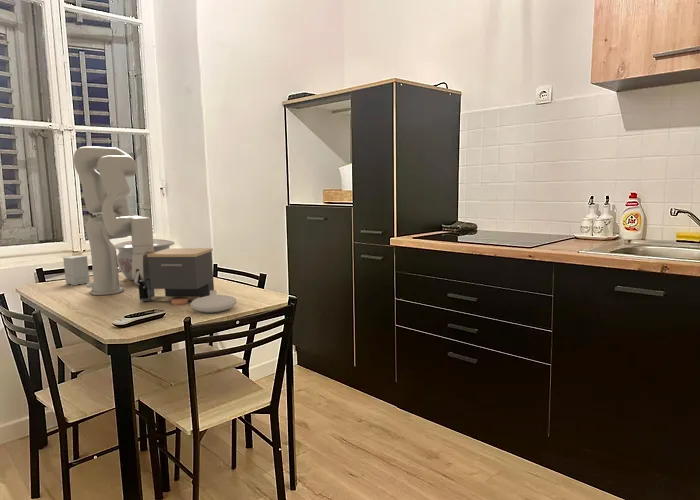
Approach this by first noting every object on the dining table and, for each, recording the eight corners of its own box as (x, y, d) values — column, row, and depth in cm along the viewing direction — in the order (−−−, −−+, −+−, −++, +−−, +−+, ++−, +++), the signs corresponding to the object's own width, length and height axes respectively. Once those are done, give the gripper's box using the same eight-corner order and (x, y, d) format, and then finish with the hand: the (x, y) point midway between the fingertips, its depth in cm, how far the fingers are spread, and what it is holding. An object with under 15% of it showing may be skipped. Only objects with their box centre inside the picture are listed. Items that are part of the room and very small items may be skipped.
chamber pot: (136, 273, 254) (132, 232, 251) (187, 273, 250) (184, 232, 248) (101, 284, 227) (97, 239, 224) (158, 284, 223) (154, 238, 220)
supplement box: (90, 282, 231) (87, 255, 229) (74, 285, 225) (71, 258, 223) (81, 281, 235) (78, 255, 233) (65, 284, 229) (62, 257, 227)
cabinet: (150, 304, 186) (146, 254, 183) (171, 295, 201) (168, 248, 199) (198, 305, 183) (194, 254, 181) (215, 295, 199) (212, 248, 196)
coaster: (168, 306, 184) (168, 300, 184) (176, 302, 190) (175, 297, 190) (184, 306, 183) (183, 300, 183) (191, 302, 189) (190, 297, 189)
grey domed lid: (193, 318, 166) (192, 297, 165) (188, 308, 180) (187, 288, 179) (241, 312, 172) (240, 292, 171) (232, 303, 187) (231, 284, 186)
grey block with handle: (139, 300, 191) (138, 280, 189) (145, 298, 194) (143, 278, 193) (197, 301, 188) (195, 280, 187) (201, 298, 192) (200, 278, 190)
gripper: (145, 246, 198) (149, 292, 201) (121, 252, 182) (125, 302, 184) (163, 246, 197) (166, 292, 200) (140, 252, 181) (144, 302, 183)
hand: (147, 296), depth 192 cm, fingers closed on grey block with handle, 4 cm apart
